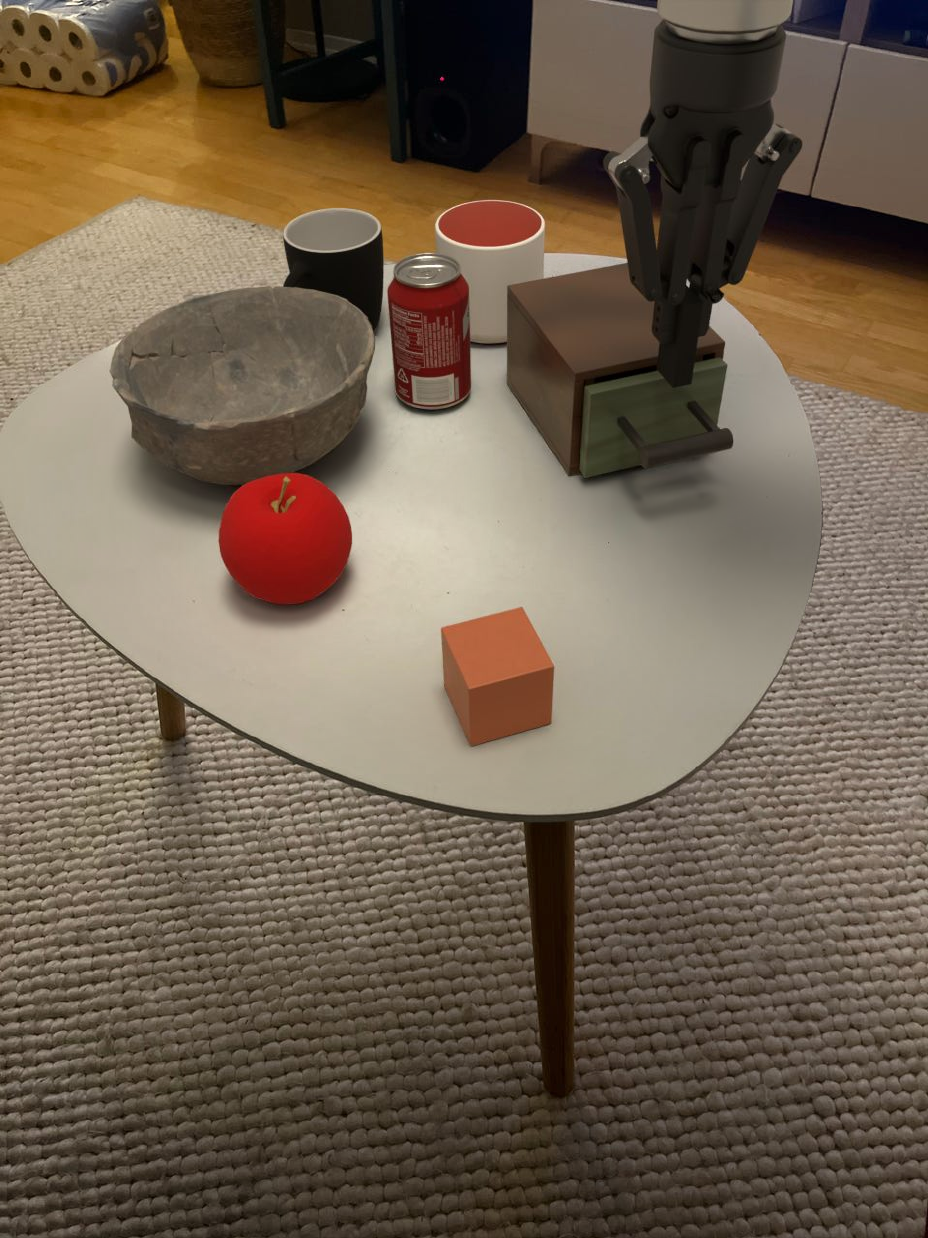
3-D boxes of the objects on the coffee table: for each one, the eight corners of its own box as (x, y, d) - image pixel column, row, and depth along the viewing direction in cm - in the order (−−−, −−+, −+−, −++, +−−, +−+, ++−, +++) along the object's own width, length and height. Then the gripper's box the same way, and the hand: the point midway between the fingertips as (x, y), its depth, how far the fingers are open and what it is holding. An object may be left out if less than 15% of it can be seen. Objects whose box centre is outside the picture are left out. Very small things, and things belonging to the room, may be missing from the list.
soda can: (463, 418, 92) (460, 290, 84) (388, 412, 93) (376, 285, 85) (477, 376, 97) (475, 251, 89) (405, 370, 98) (395, 246, 90)
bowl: (329, 360, 100) (316, 259, 93) (427, 478, 87) (420, 371, 80) (110, 424, 93) (78, 321, 86) (180, 562, 80) (149, 453, 73)
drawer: (749, 489, 83) (766, 404, 78) (615, 522, 81) (623, 437, 75) (642, 364, 96) (650, 284, 91) (524, 389, 94) (525, 308, 88)
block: (551, 724, 68) (554, 665, 64) (470, 747, 67) (468, 689, 63) (521, 664, 72) (522, 605, 68) (443, 685, 71) (440, 627, 67)
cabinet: (708, 444, 89) (725, 341, 82) (569, 476, 86) (574, 373, 80) (634, 356, 99) (643, 258, 92) (506, 383, 96) (507, 284, 89)
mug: (338, 297, 108) (326, 199, 101) (408, 322, 104) (401, 221, 97) (256, 350, 101) (238, 248, 94) (328, 378, 97) (314, 275, 90)
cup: (550, 301, 106) (553, 203, 99) (531, 354, 100) (534, 252, 92) (452, 292, 108) (449, 195, 101) (428, 343, 101) (422, 243, 94)
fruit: (257, 644, 74) (231, 534, 67) (213, 568, 80) (185, 459, 72) (377, 597, 77) (365, 487, 70) (327, 527, 83) (310, 419, 75)
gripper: (787, -10, 65) (728, 334, 82) (590, 16, 62) (571, 367, 79) (856, 26, 60) (778, 385, 77) (646, 56, 57) (613, 422, 74)
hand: (673, 376), depth 78 cm, fingers closed
